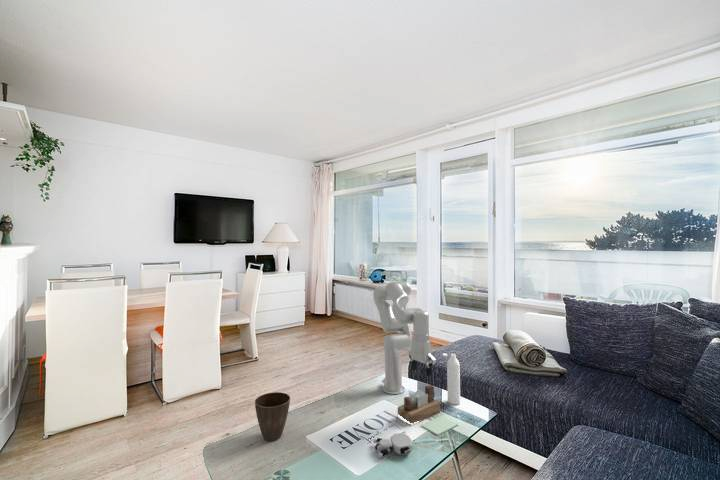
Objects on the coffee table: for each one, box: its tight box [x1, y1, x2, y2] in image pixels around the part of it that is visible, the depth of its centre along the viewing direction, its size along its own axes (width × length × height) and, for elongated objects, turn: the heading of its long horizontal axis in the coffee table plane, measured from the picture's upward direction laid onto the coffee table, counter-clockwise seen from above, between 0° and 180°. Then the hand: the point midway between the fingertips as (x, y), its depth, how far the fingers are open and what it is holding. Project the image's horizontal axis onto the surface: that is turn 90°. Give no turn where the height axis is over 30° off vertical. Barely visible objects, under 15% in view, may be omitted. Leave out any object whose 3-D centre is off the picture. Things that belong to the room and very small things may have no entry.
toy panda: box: [373, 430, 415, 458], centre depth 136 cm, size 12×4×15 cm
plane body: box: [397, 384, 441, 423], centre depth 165 cm, size 9×20×12 cm, turn 127°
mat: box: [420, 415, 459, 436], centre depth 155 cm, size 10×14×1 cm
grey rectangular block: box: [409, 390, 428, 409], centre depth 165 cm, size 5×7×5 cm
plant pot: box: [254, 391, 291, 442], centre depth 147 cm, size 15×15×16 cm
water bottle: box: [442, 352, 461, 405], centre depth 179 cm, size 9×6×25 cm
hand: (421, 372), depth 165 cm, fingers open, 9 cm apart
